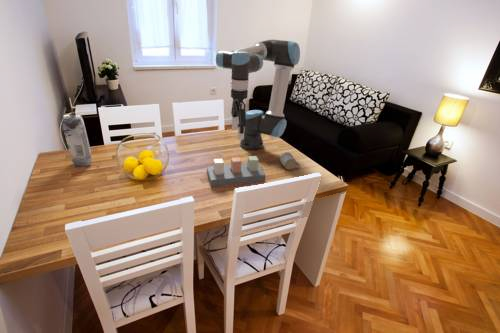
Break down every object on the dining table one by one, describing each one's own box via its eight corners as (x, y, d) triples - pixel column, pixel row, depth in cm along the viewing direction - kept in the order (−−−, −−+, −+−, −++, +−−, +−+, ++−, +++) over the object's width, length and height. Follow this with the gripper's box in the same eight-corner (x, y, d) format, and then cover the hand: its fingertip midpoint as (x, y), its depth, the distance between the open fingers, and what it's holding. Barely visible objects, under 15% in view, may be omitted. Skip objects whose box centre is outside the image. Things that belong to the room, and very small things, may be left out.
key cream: (213, 171, 143) (213, 159, 140) (222, 170, 144) (222, 158, 141) (215, 175, 139) (215, 163, 136) (223, 174, 140) (223, 162, 137)
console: (206, 173, 148) (206, 166, 146) (256, 168, 155) (257, 162, 153) (211, 187, 136) (211, 180, 134) (264, 181, 144) (265, 174, 142)
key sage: (247, 168, 148) (247, 156, 144) (255, 167, 149) (255, 156, 146) (249, 172, 144) (250, 160, 141) (257, 171, 145) (258, 159, 142)
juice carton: (92, 157, 155) (81, 110, 142) (92, 166, 147) (81, 117, 134) (74, 160, 151) (61, 112, 138) (73, 169, 143) (59, 119, 130)
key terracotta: (230, 169, 145) (231, 157, 142) (238, 169, 146) (239, 157, 143) (232, 173, 142) (232, 161, 138) (240, 173, 143) (241, 161, 139)
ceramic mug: (284, 171, 155) (286, 158, 151) (279, 164, 162) (280, 152, 158) (301, 170, 158) (303, 157, 154) (295, 163, 165) (298, 151, 161)
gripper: (225, 83, 133) (224, 126, 143) (237, 95, 113) (235, 144, 123) (240, 83, 135) (239, 125, 145) (255, 95, 115) (252, 143, 125)
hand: (237, 134), depth 134 cm, fingers open, 11 cm apart
